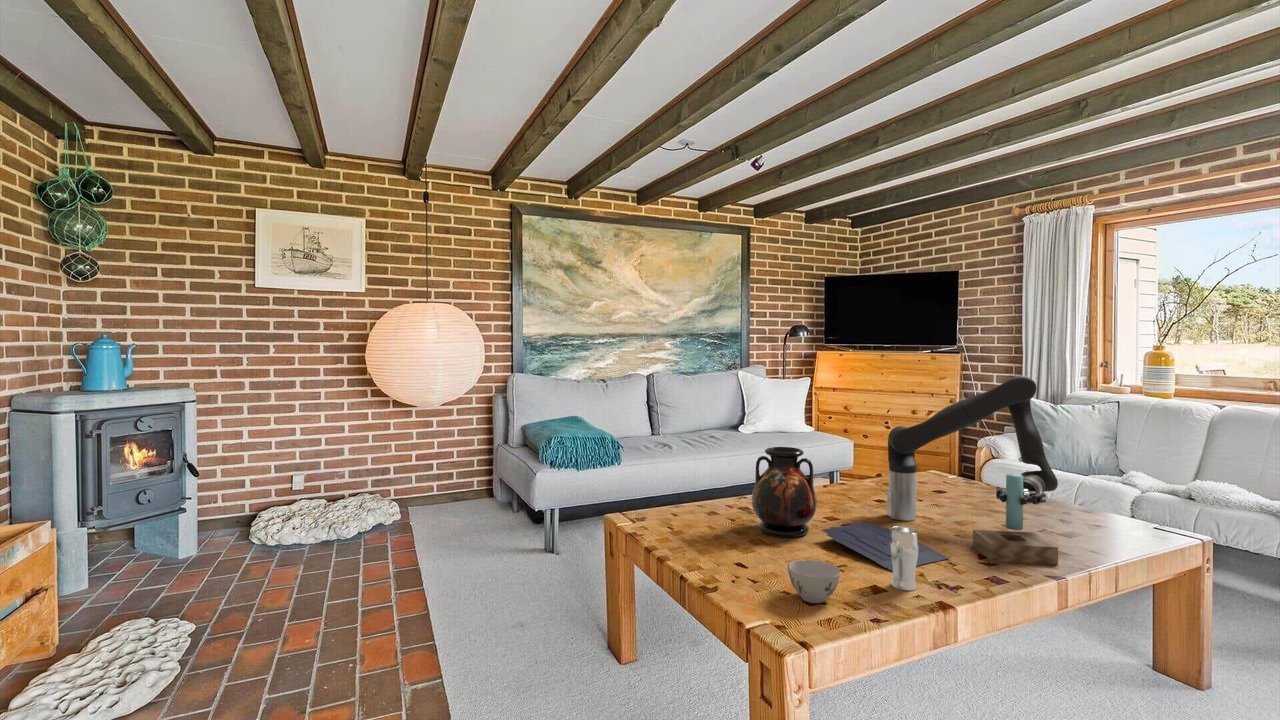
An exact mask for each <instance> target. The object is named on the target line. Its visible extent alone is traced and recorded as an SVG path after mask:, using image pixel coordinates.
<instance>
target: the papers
mask: <svg viewBox="0 0 1280 720" xmlns="http://www.w3.org/2000/svg"><path fill="white" fill-rule="evenodd" d="M821 531H822V532H824V533H826V536H827V537H829V538H832V540H833V541H835V542H837V543H839V544H841V545H844V546H845V547H847V548H848V549H851V550H853V551H855V552H856V553H858V554H859V555H860V554H861V555H862V556H864V557H866V558H868V559H870V560H871V561H873V562H874V563H876V564H878V565H880V566H882V567H883V568H886V569H888V570H889V571H891V572H893V566H892V560H891V554H890V533H891V528H887V527H884V526H881V525H879V524H873V523H870V522H868V521H865V520H864V521H860V522H859V521H858V522H856V523H851V524H847V525H841V526H836V527H835V526H834V527H830V528H824V529H821ZM949 559H950V557H948V556H946V555H944V554H942V553H941V552H939V551H938V550H935V549H933V548H931V547H929V546H927V545H925V544H923V543H921V542H919V550H918V558H917V563H916V567H918V566H921V565H925V564H929V563H935V562H939V561H944V560H949Z"/></svg>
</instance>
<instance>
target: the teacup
mask: <svg viewBox="0 0 1280 720" xmlns="http://www.w3.org/2000/svg"><path fill="white" fill-rule="evenodd" d="M787 572H788V576H789V580H790V583H791V585H792V587H793V589H794V591H795V592H796V593H797V594H798V595H799V596H800V597H801V598H802V599H803V601H805V602H807V603H811V604H822V603H825V602H826V601H827V599H829V598H830V597H831V596H832V595H833V594H834V593H835V591H836V590H837V586H838V584H839V580H840V576H841V569H839V567H838V566H837V565H835V564H833V563H829V562H826V561H822V560H818V559H817V560H816V559H806V560H803V559H798V560H793V561H790V562H788V564H787Z"/></svg>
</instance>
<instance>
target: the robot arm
mask: <svg viewBox="0 0 1280 720" xmlns="http://www.w3.org/2000/svg"><path fill="white" fill-rule="evenodd" d="M1036 392H1037V384H1036V382H1035V380H1034V379H1032V378H1030V377H1029V376H1025V375H1016V376H1013V377H1011V378H1009V379H1007V380H1006V381H1004V382H1002V383H1000V384H999V385H997V386H995V387H993V388H991V389H989V390H987V391H985V392H982V393H978V394H976V395H973V396H970V397H968V398H965V399H961V400H960V401H959V400H958V401H957V402H955V403H953V404H950V405H948V406H946V407H944V408H942V409H940V410H939V411H937V412H936V413H935V414H934V415H932V416H931V417H930V418H928V419H927V420H925V421H922V422H920V423H917V424H915V425H911V426H909V427H907V426H904V425H899V426H896V427H894V428H892V429H891V430H890V431H889V433H888V438H887V459H888V489H887V499H886V500H887V502H886V503H887V504H886V505H887V507H886V509H887V510H886V512H887V513H886V514H887V516H888V518H890V519H891V520H898V521H905V522H906V521H915V520H916V519H917V461H916V457H915V456H916V455H915V454H916V453H915V452H916V451H917V450H918V449H921V448H922V447H924V446H926V445H928V444H929V443H931V442H934V441H935V440H939V439H941V438H944V437H946V436H948V435H951V434H953V433H957V432H959V431H962V430H963V429H966V428H968V427H971V426H973V425H975V424H977V423H979V422H981V421H982V420H984V419H987V418H988V417H990V416H991V415H992V414H994V413H996V412H998V411H1000V410H1002V409H1004V408H1008V410H1009V412H1010V416H1011V419H1012V422H1013V425H1014V431H1015V434H1016V439H1017V444H1018V449H1019V453H1020V458H1021V461H1022V462H1023V463H1024V464H1026V465H1036V466H1038V467H1039V468H1040V470H1030V471H1025V472H1022V473H1021V474H1020V475H1022V476H1023V496H1022V497H1021V498H1020V505H1023V506H1025V505H1031V504H1032V505H1038V504H1040V505H1041V504H1043V503H1046V502H1047V493H1045V492H1054V491H1055V490H1057V488H1058V487H1059V486H1058V485H1059V482H1058V478H1057V477H1056V475H1055V473H1054V471H1053V469H1052V468H1051V466H1050V464H1049V462H1048V460H1047V457H1046V453H1045V449H1044V443H1043V441H1042V438H1041V434H1040V432H1039V430H1038V428H1037V425H1036V423H1035V420H1034V417H1033V414H1032V410H1031V409H1032V408H1031V405H1032V404H1031V400H1032V399H1033V398H1034V397H1035V394H1036ZM995 496H996V499H998V500H999V501H1001V503H1006V489H1003V488H1001V486H996V487H995Z"/></svg>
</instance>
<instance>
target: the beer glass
mask: <svg viewBox="0 0 1280 720" xmlns="http://www.w3.org/2000/svg"><path fill="white" fill-rule="evenodd" d="M890 530H891V533H890V554H891V560H892V566H893V571H892V577H891V582H890V585H891V586H892V588H895V589H897V590H900V591H907V592H910V591H915V590H916V589H917V584H916V583H917V582H916V576H915V574H916V573H915V572H916V567H917V566H916V563H917V558H918V550H919V543H920V541H919V531H918V530H917V529H916V528H913V527H910V526H905V525H896V526H894V525H893V526H892V527H890Z"/></svg>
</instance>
